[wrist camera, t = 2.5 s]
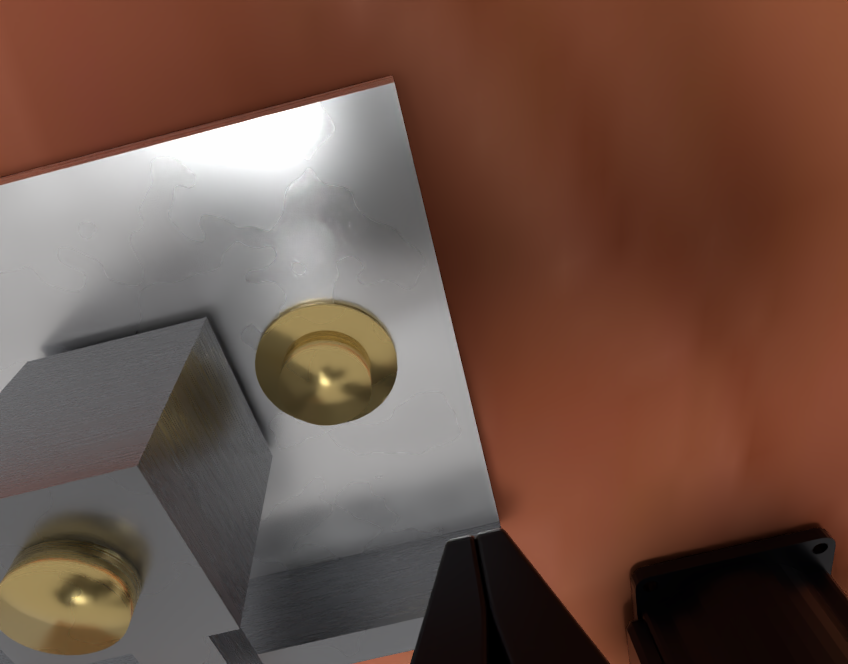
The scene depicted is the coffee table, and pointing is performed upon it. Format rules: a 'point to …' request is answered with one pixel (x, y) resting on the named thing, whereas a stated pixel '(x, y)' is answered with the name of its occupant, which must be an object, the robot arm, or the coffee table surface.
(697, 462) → the coffee table surface
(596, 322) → the coffee table surface
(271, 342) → the hole plate
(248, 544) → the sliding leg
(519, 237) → the coffee table surface
